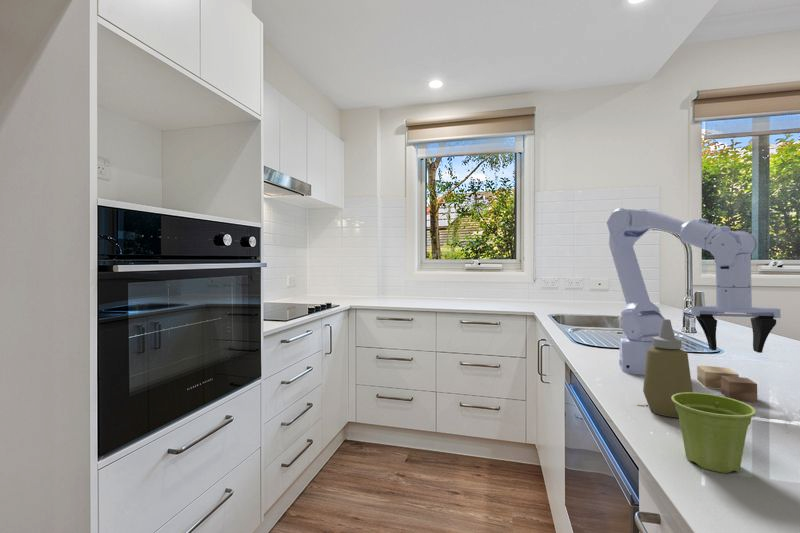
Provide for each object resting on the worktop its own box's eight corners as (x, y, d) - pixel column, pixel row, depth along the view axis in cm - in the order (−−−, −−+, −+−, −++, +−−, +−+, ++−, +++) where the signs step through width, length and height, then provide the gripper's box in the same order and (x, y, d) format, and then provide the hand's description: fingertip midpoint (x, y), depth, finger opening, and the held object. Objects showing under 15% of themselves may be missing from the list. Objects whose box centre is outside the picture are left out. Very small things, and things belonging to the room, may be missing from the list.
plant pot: (765, 488, 49) (764, 420, 49) (674, 468, 54) (673, 407, 54) (747, 457, 57) (746, 398, 57) (669, 442, 62) (669, 388, 62)
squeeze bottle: (687, 408, 76) (686, 317, 76) (699, 423, 69) (698, 323, 69) (640, 402, 79) (639, 316, 79) (646, 416, 72) (645, 321, 72)
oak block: (705, 387, 87) (705, 371, 87) (697, 379, 92) (697, 365, 92) (738, 390, 84) (738, 374, 84) (728, 382, 90) (728, 367, 90)
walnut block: (729, 403, 79) (728, 381, 79) (721, 396, 83) (720, 375, 83) (757, 406, 77) (757, 383, 77) (747, 399, 81) (747, 377, 81)
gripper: (698, 287, 81) (699, 351, 81) (788, 288, 75) (789, 357, 75) (687, 286, 87) (689, 345, 87) (770, 286, 82) (771, 349, 82)
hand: (734, 350), depth 82 cm, fingers open, 7 cm apart
